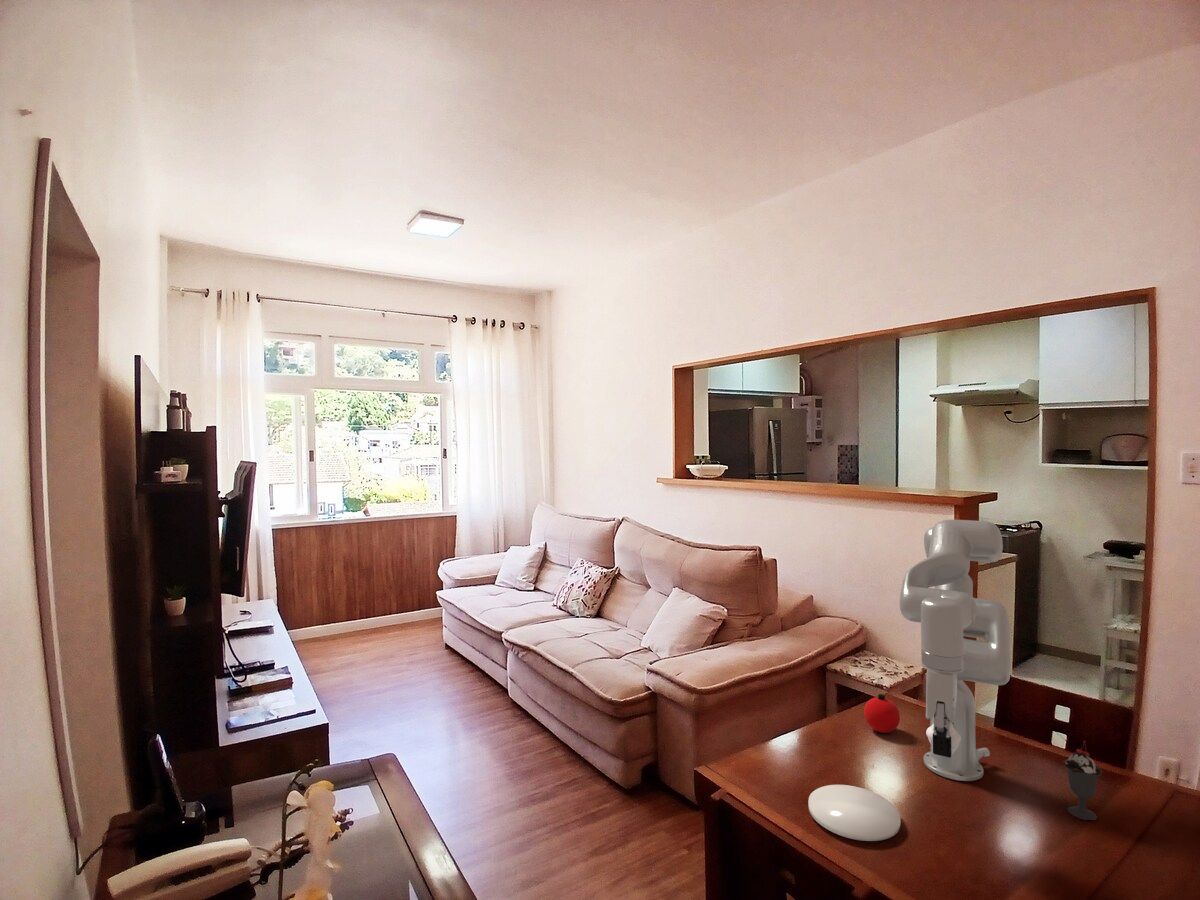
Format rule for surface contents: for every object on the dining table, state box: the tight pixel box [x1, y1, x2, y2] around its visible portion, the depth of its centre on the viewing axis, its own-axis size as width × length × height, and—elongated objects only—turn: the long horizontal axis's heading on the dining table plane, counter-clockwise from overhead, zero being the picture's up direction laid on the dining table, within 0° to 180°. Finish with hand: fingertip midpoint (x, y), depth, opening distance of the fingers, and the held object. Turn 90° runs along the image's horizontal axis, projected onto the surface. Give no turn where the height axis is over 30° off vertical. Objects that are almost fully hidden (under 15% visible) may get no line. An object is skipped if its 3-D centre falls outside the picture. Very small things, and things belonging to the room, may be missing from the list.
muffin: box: [925, 719, 961, 756], centre depth 125 cm, size 6×6×7 cm
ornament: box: [863, 693, 901, 734], centre depth 168 cm, size 9×9×10 cm
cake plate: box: [807, 784, 901, 842], centre depth 130 cm, size 18×18×2 cm
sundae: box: [1062, 740, 1103, 821], centre depth 130 cm, size 7×7×15 cm
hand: (943, 746), depth 125 cm, fingers closed on muffin, 6 cm apart
